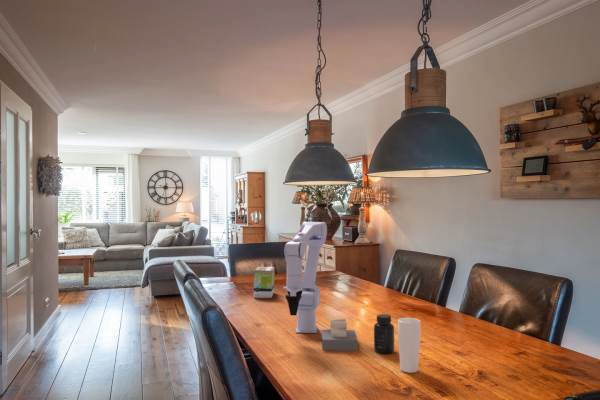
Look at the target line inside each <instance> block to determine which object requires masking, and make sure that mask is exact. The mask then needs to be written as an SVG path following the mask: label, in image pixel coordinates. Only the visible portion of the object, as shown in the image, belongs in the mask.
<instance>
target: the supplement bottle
mask: <svg viewBox="0 0 600 400" xmlns="http://www.w3.org/2000/svg"><path fill="white" fill-rule="evenodd" d="M373 350H374V352H375V353H376V354H380V355H391V354H394V352H395V325H394V324H393V323H392V316H391V315H390V314H385V313H380V314H377V315H376V322H375V324H374V325H373Z"/></svg>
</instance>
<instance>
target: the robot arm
mask: <svg viewBox="0 0 600 400" xmlns="http://www.w3.org/2000/svg"><path fill="white" fill-rule="evenodd" d="M327 234H328V226H327V223H326V222H325V221H303V222H302V223H301V227H300V232H298V233H297V234H296V235H295V236H294V237H293V238H292V240H291V241H288V242H286V243H284V244H285V245H284V249H283V252H284V253H283V254H284V257H285V259H284V261H285V262H286V280H285V281H286V286H283V287H282V289H283V290H286V292H287V294H285V300H286V302H287V305H288V310H289V311H288V312H289V315H290V316H297V317H296V318H297V321H296V322H297V324H296V329H295V333H296V334H300V333H301V334H304V333H305V334H310V333H311V334H316V333H317V331H318V328H317V327H318V326H317V325H316V324H317V323H316V322H317V320H316V319H317V315H316V314H317V313H316V312H317V308H318V307H319V306H320V304H321V289H320V287H319V286H318V285H317V284H316V278H317V272H318V265H319V259H320V252H321V248H322V246H323V245H325V244H326V240H327V236H328V235H327ZM307 247H308V250H307V255H306V263H305V267H304V274H303V258H304V256H305V254H306V248H307Z"/></svg>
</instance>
